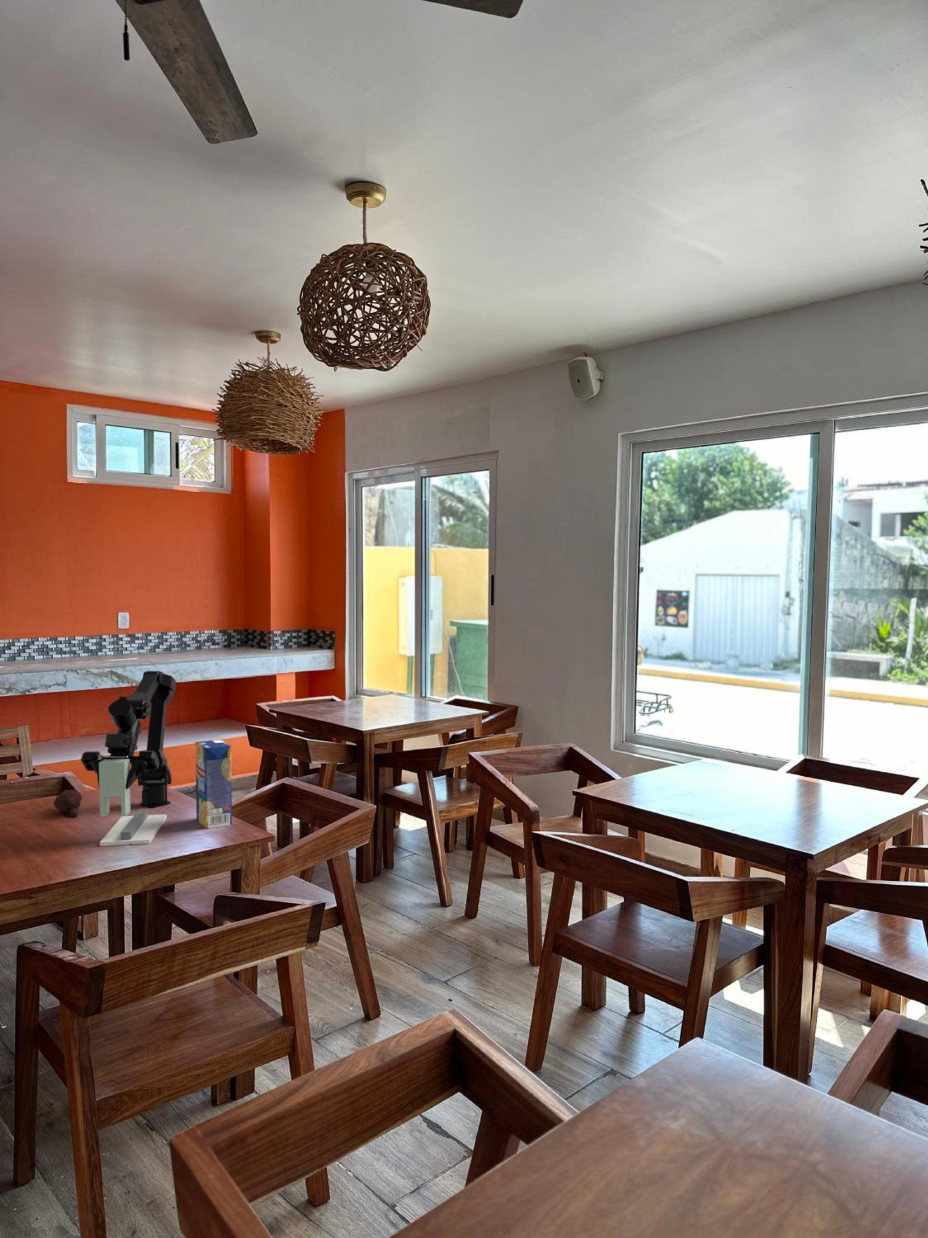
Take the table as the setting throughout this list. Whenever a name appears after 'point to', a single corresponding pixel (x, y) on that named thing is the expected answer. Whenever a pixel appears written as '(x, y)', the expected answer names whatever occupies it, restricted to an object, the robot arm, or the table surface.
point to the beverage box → (213, 783)
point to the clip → (114, 784)
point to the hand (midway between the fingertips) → (113, 788)
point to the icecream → (68, 802)
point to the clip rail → (138, 836)
